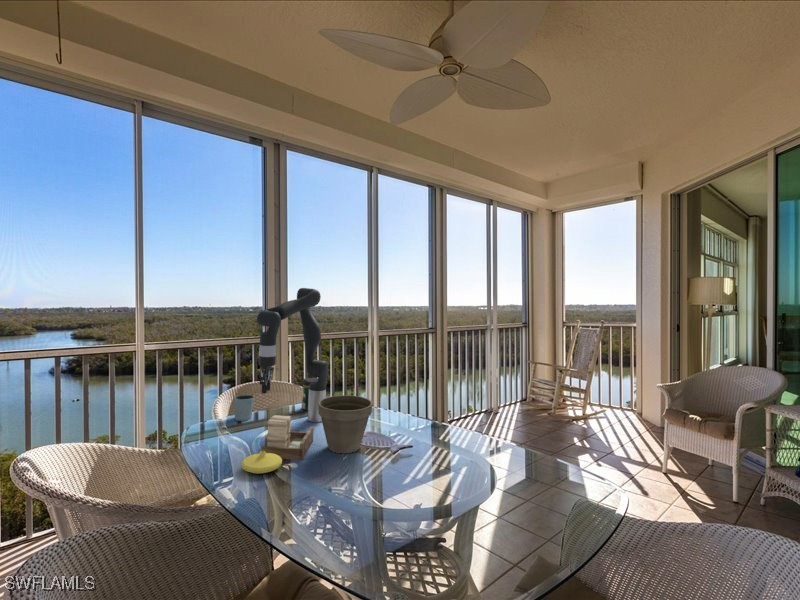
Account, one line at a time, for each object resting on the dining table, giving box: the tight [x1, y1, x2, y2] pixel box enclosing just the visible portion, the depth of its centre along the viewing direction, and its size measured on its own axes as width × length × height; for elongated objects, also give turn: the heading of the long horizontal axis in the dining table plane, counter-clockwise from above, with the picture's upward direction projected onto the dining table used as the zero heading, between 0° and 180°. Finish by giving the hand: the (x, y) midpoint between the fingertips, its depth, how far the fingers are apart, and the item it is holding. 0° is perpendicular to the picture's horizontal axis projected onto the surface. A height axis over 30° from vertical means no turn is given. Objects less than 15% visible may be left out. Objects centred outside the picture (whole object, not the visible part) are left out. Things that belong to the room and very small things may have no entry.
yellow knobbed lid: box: [240, 450, 283, 475], centre depth 167 cm, size 16×16×7 cm
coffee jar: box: [301, 377, 318, 411], centre depth 250 cm, size 10×8×19 cm
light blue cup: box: [233, 394, 255, 422], centre depth 226 cm, size 10×10×12 cm
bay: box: [260, 426, 315, 461], centre depth 188 cm, size 21×18×7 cm
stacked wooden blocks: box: [266, 414, 292, 447], centre depth 188 cm, size 8×8×12 cm
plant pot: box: [318, 394, 373, 455], centre depth 193 cm, size 25×25×22 cm
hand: (265, 391), depth 190 cm, fingers open, 4 cm apart
